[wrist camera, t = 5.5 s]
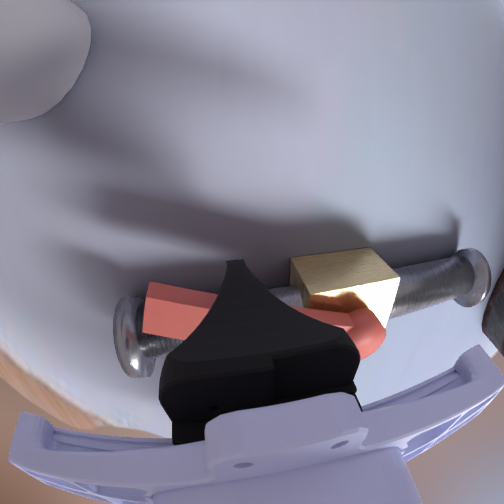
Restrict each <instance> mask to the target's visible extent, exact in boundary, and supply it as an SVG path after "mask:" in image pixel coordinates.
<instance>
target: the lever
mask: <svg viewBox="0 0 504 504" xmlns="http://www.w3.org/2000/svg"><path fill="white" fill-rule="evenodd" d="M217 295H218V294H213V293H208V292H202V291H197V290H192V289H187V288H181V287H176V286H171V285H166V284H161V283H157V282H152V281H150V283H149V287H148V290H147V294H146V300H145V309H144V319H143V330H142V332H143V333H148V334H153V335H158V336H163V337H169V338H175V339H181V340H185V339H186V338H187V337H188V336H189V335H190V334H191V333H192V332H193V331H194V330H195V329H196V328H197V326H198V325H199V324H200V323H201V321H202V320H203V319H204V317H205V316H206V314H207V313H208V311H209V310H210V308H211V306H212V305H213V303H214V301H215V299H216V297H217ZM290 307H292V308H294V309H295V310H297V311H299V312H301V313H303V314H305V315H307V316H309V317H312V318H314V319H316V320H319V321H321V322H324V323H327V324H331V325H334V326H337V327H340V328H344V330H345V331H346V332H347V334H348V335H349V336H350V337H351V339H352V340H353V342H354V343H355V345H356V347H357V349H358V350H359V353H360V357H361V358H360V360H361V359H364V358H366V357H367V356H369V355H371V354H372V353H373V352H375V351H376V350H377V349H378V348H379V347H380V345H381V344H382V343H383V341H384V339H385V336H386V329H385V327H384V326H383V325H382V323H381V322H380V320H379V319H378V317H377V316H376V315H375V313H374V312H373V311H372V310H370V309H365V308H363V309H357V310H354V311H351V312H349V313H340V312H332V311H324V310H316V309H309V308H301V307H294V306H290Z"/></svg>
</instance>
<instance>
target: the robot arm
mask: <svg viewBox="0 0 504 504" xmlns="http://www.w3.org/2000/svg"><path fill="white" fill-rule="evenodd" d="M226 262H227V270H226V274H225V278H224V281H223V283H222V286H221V289H220V291H219V293H218V295H217V297H216V299H215V301H214V303H213V305H212V306H211V308H210V310H209V311H208V313H207V314H206V316H205V317H204V319H203V320H202V321H201V323H200V324H199V325H198V326H197V328H196V329H195V330H194V331H193V332H192V333H191V334H190V335H189V336H188V337H187V338H186V339H185V340H184V341H183V342H182V343H181V344H180V345H179V346H177V347H176V348H175V349H174V350H173V351H171V352H170V353H169V354H167V356H166V359H165V362H164V365H163V368H162V372H161V377H160V383H159V401H160V403H161V405H162V407H163V408H164V410H165V412H166V413H167V415H168V416H169V418H170V420H171V421H172V438H132V437H118V436H108V435H99V434H91V433H84V432H78V431H72V430H66V429H61V428H56V427H54V426H53V425H52V424H51V423H50V422H49V421H48V420H47V419H45V418H43V417H42V416H39V415H36V414H31V413H28V412H24V411H21V412H20V415H19V418H18V422H17V425H16V429H15V432H14V436H13V440H12V444H11V448H10V453H9V457H8V460H9V462H10V463H12V464H13V465H15V466H16V467H18V468H19V469H21V470H22V471H24V472H26V473H27V474H29V475H31V476H33V477H34V478H36V479H37V480H39V481H41V482H43V483H45V484H47V485H49V486H52V487H55V488H58V489H61V490H64V491H68V492H71V493H74V494H77V495H81V496H84V497H88V498H91V499H95V500H99V501H103V502H108V503H112V504H423V502H422V499H421V497H420V495H419V492H418V490H417V488H416V485H415V483H414V481H413V479H412V476H411V474H410V472H409V470H408V467H407V465H406V463H405V462H407V461H408V460H410V459H412V458H414V457H416V456H417V455H419V454H421V453H422V452H424V451H426V450H427V449H429V448H431V447H432V446H434V445H435V444H437V443H438V442H440V441H441V440H443V439H444V438H446V437H448V436H449V435H451V434H452V433H453V432H455V431H456V430H458V429H459V428H460V427H462V426H463V425H465V424H466V423H468V422H469V421H470V420H471V419H473V418H474V417H476V416H477V415H478V414H479V413H480V412H481V411H482V410H483V409H484V408H485V407H486V406H487V405H488V404H489V403H490V402H491V401H492V400H493V398H494V397H495V396H496V395H497V394H498V393H499V392H500V390H501V389H502V388H503V387H504V375H503V374H502V373H501V371H500V370H499V369H498V367H497V366H496V365H495V363H494V362H493V361H492V360H491V358H490V357H489V356H488V355H487V353H486V352H485V351H484V350H483V348H482V347H481V346H480V345H476V346H474V347H473V348H471V349H469V350H467V351H466V352H464V353H463V354H462V355H461V356H460V357H459V358H458V360H457V361H456V363H455V365H454V367H452V368H450V369H449V370H447V371H445V372H443V373H441V374H439V375H437V376H435V377H433V378H431V379H429V380H426V381H424V382H422V383H420V384H418V385H416V386H413V387H411V388H409V389H406V390H404V391H402V392H399V393H397V394H394V395H392V396H389V397H387V398H384V399H381V400H379V401H376V402H373V403H370V404H367V405H364V406H362V407H361V405H360V403H359V401H358V399H357V397H356V394H355V393H356V391H357V388H356V386H355V384H354V382H353V379H354V377H355V374H356V371H357V369H358V366H359V363H360V358H361V357H360V353H359V350H358V349H357V347H356V345H355V343H354V342H353V340H352V339H351V337H350V336H349V335H348V334H347V332H346V331H345V330H344V328H340V327H337V326H334V325H331V324H327V323H324V322H321V321H319V320H316V319H314V318H312V317H309V316H307V315H305V314H303V313H301V312H299V311H297V310H295V309H294V308H292V307H290V306H289V305H287V304H285V303H284V302H282V301H281V300H280V299H278V298H277V297H276V296H274V295H273V294H272V293H271V292H270V291H269V290H267V289H266V288H265V287H264V286H263V285H262V284H261V283H260V282H259V281H258V280H257V279H256V278H255V277H254V275H253V274H252V273H251V272H250V271H249V270H248V268H247V267H246V265H245V262H244V260H243V259H242V260H233V261H226Z"/></svg>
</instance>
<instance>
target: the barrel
mask: <svg viewBox="0 0 504 504" xmlns="http://www.w3.org/2000/svg"><path fill="white" fill-rule="evenodd" d="M482 331H483V333H484V334H485V335H486V336H487V337H488V338H489V340H490V341H491V342H492V343H493V344H494V345H495V347H496V348H497V349H498V350H499V351H500V353H501V354H502V355H503V356H504V269H503V271H502V273H501V275H500V277H499V279H498V281H497V283H496V285H495V288H494V290H493V292H492V294H491V297H490V299H489V301H488V304H487V307H486V310H485V313H484V316H483V321H482Z"/></svg>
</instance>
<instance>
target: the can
mask: <svg viewBox="0 0 504 504" xmlns="http://www.w3.org/2000/svg"><path fill="white" fill-rule="evenodd" d="M90 44H91V26H90V23H89V19H88V16H87V14H86V13H85V12H84V11H83V10H82V9H81V8H80V7H79V6H78V5H76V4H75V3H74V2H72V1H71V0H0V125H3V124H8V123H13V122H18V121H24V120H30V119H32V118H35V117H37V116H40V115H43V114H45V113H46V112H47V111H49V110H50V109H51V108H52V107H54V106H55V105H56V104H58V103H59V102H60V101H61V100H62V98H63V97H64V96H65V95H66V94H67V92H68V91H69V90H70V89H71V88H72V87H73V85H74V83H75V82H76V80H77V78H78V76H79V74H80V73H81V71H82V69H83V67H84V65H85V62H86V58H87V55H88V52H89V49H90Z"/></svg>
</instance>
